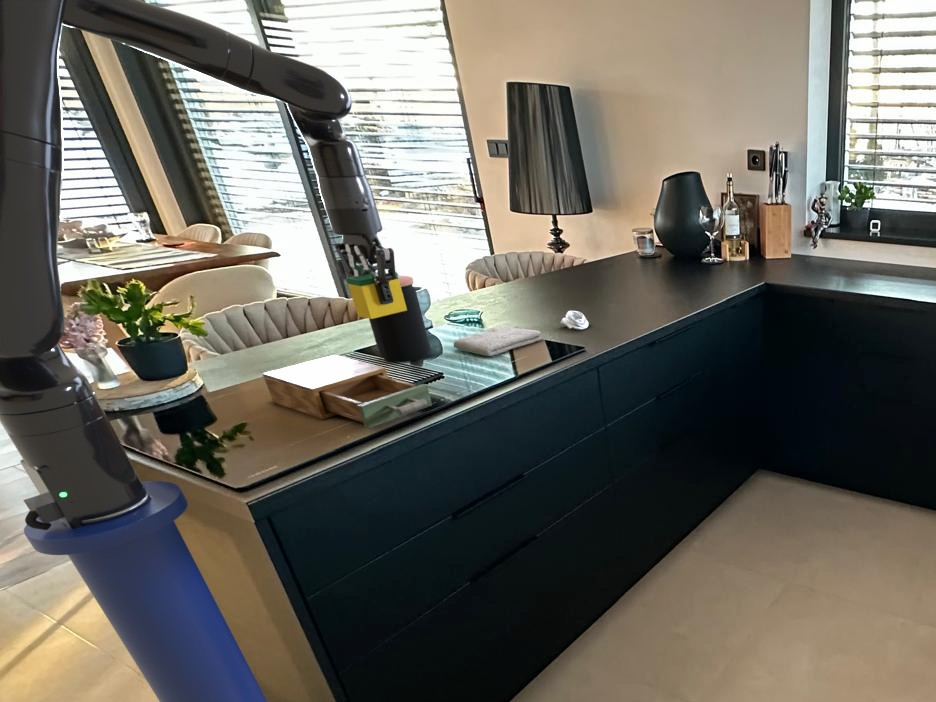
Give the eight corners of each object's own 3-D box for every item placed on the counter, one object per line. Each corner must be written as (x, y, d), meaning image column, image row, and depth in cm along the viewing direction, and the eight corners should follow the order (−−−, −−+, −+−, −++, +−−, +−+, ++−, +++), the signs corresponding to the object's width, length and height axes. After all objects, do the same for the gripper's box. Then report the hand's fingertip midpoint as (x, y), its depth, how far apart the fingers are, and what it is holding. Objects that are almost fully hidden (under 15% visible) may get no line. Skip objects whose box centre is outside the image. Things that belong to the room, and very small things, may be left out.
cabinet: (393, 395, 127) (385, 367, 125) (323, 419, 116) (312, 389, 114) (344, 381, 134) (335, 354, 131) (273, 402, 123) (262, 373, 120)
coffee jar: (442, 351, 153) (423, 277, 145) (407, 365, 144) (386, 286, 136) (406, 347, 155) (385, 274, 147) (369, 360, 146) (346, 283, 138)
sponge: (371, 319, 114) (359, 280, 111) (357, 316, 116) (345, 278, 112) (407, 310, 120) (396, 273, 116) (394, 307, 121) (383, 271, 118)
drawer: (448, 409, 119) (443, 389, 117) (385, 434, 109) (378, 411, 108) (382, 390, 127) (376, 370, 125) (317, 411, 117) (310, 390, 115)
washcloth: (545, 339, 163) (543, 328, 162) (488, 359, 149) (486, 346, 147) (511, 333, 168) (509, 322, 166) (453, 351, 153) (451, 339, 152)
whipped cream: (577, 325, 179) (574, 308, 177) (595, 326, 176) (593, 309, 175) (556, 330, 172) (553, 312, 171) (575, 331, 170) (572, 313, 168)
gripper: (303, 203, 108) (336, 301, 116) (352, 209, 103) (383, 311, 111) (347, 199, 114) (376, 293, 122) (396, 204, 109) (423, 302, 117)
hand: (379, 301), depth 116 cm, fingers closed on sponge, 4 cm apart
